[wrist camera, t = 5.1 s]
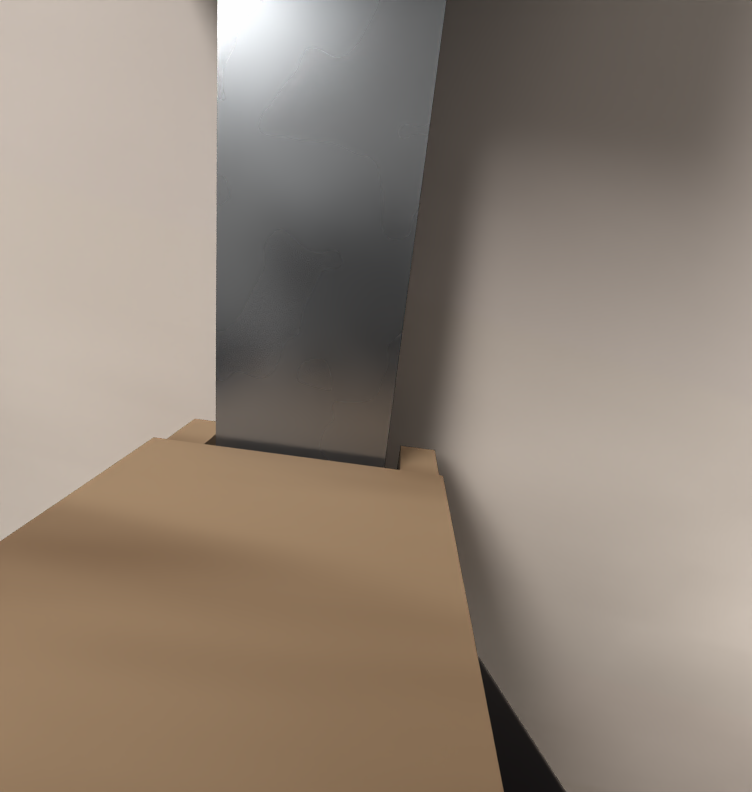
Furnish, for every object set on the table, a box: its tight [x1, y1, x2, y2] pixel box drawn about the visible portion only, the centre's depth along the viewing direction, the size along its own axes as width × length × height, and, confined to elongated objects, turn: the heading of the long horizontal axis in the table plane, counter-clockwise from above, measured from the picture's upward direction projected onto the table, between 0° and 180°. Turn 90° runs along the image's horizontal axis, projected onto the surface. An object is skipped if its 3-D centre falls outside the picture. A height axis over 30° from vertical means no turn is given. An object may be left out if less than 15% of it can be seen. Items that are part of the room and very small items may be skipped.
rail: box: [216, 0, 446, 468], centre depth 7 cm, size 18×5×5 cm, turn 173°
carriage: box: [0, 419, 504, 792], centre depth 6 cm, size 5×5×6 cm
